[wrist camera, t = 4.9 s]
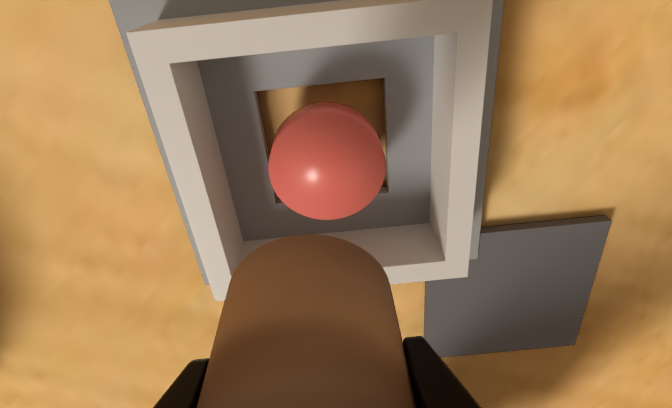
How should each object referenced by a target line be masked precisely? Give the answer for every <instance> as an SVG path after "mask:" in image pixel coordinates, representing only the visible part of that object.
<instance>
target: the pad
mask: <svg viewBox="0 0 672 408" xmlns="http://www.w3.org/2000/svg"><path fill="white" fill-rule="evenodd" d="M611 221H612V220H610V219H609V218H608V217H607V216H606V215H603V216H592V217H582V218H572V219H562V220H552V221H542V222H531V223H521V224H511V225H501V226H491V227H481V229H480V238H479V248H478V257H477V259H470V260H469V267H468V277H462V278H452V279H442V280H431V281H425V311H424V338H425V339H426V340H427V342H428V343H429V344H430V345H431V347H432V348H433V349H434V350H435V352H436V353H437V354H438V355H439V357H440V358H441V357H452V356H463V355H473V354H484V353H495V352H505V351H516V350H527V349H538V348H548V347H559V346H570V345H575V342H576V339H577V335H578V332H579V329H580V325H581V322H582V319H583V315H584V312H585V309H586V305H587V302H588V299H589V295H590V292H591V288H592V285H593V282H594V278H595V275H596V272H597V268H598V265H599V262H600V258H601V255H602V252H603V248H604V245H605V242H606V238H607V235H608V231H609V228H610V225H611Z"/></svg>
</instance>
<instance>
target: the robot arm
mask: <svg viewBox="0 0 672 408" xmlns="http://www.w3.org/2000/svg"><path fill="white" fill-rule="evenodd" d="M403 346H404V351H405V355H406V360H407V364H408V369H409V373H410V378H411V382H412V387H413V392H414V396H415V401H416V405H417V408H481V407H480V406H479V405H478V403H477V402H476V401H475V400H474V398H473V397H472V396H471V395H470V393H469V392H468V391H467V390H466V389H465V387H464V386H463V385H462V384H461V382H460V381H459V380H458V379H457V377H456V376H455V375H454V374H453V373H452V371H451V370H450V369H449V368H448V366H447V365H446V364H445V363H444V361H443V360H442V359H441V358H440V357H439V355H438V354H437V353H436V352H435V350H434V349H433V348H432V347H431V345H430V344H429V343H428V342H427V340H426V339H425V338H424V337H422V336H415V337H406V338H404V340H403ZM208 363H209V358H206V359H197V360H193V361H191V362H190V363H189V364H188V365H187V366H186V367H185V369H184V370H183V371H182V372H181V374H180V375H179V376H178V377H177V379H176V380H175V381H174V382H173V384H172V385H171V386H170V387H169V389H168V390H167V391H166V392H165V394H164V395H163V396H162V397H161V398H160V400H159V401H158V402H157V403H156V405H155V406H154V407H153V408H197V405H198V401H199V397H200V393H201V389H202V386H203V382H204V378H205V374H206V370H207V367H208Z"/></svg>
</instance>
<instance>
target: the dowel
mask: <svg viewBox="0 0 672 408" xmlns="http://www.w3.org/2000/svg"><path fill="white" fill-rule="evenodd" d="M197 408H417V405H416V401H415V396H414V392H413V387H412V382H411V378H410V373H409V369H408V364H407V360H406V355H405V351H404V346H403V342H402V337H401V332H400V328H399V323H398V319H397V314H396V310H395V305H394V301H393V296H392V292H391V287H390V283H389V280H388V277H387V275H386V273H385V271H384V269H383V267H382V266H381V265H380V263H379V262H378V261H377V260H376V259H375V258H374V257H373V256H372V255H371V254H370V253H368V252H367V251H365V250H364V249H363V248H361V247H359V246H357V245H355V244H354V243H351V242H349V241H346V240H344V239H340V238H336V237H333V236H326V235H317V234H303V235H293V236H287V237H283V238H280V239H276V240H274V241H271V242H269V243H266V244H264V245H262V246H261V247H259V248H257V249H255V250H254V251H253V252H251V253H250V254H249V255H247V256H246V257H245V258H244V259H243V260H242V261H241V262H240V264H239V265H238V266H237V268H236V269H235V271H234V273H233V275H232V277H231V280H230V283H229V286H228V290H227V294H226V298H225V302H224V306H223V309H222V313H221V317H220V321H219V325H218V328H217V332H216V336H215V340H214V344H213V348H212V351H211V355H210V359H209V363H208V367H207V370H206V374H205V378H204V382H203V386H202V389H201V393H200V397H199V401H198V405H197Z"/></svg>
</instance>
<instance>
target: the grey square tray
mask: <svg viewBox="0 0 672 408" xmlns="http://www.w3.org/2000/svg"><path fill="white" fill-rule="evenodd" d="M109 3H110V6H111V9H112V12H113V14H114V17H115V20H116V23H117V26H118V29H119V32H120V35H121V38H122V41H123V44H124V47H125V50H126V53H127V56H128V59H129V62H130V65H131V68H132V70H133V73H134V76H135V79H136V82H137V85H138V88H139V91H140V94H141V97H142V100H143V103H144V106H145V109H146V112H147V115H148V118H149V121H150V124H151V127H152V129H153V132H154V135H155V138H156V141H157V144H158V147H159V150H160V153H161V156H162V159H163V162H164V165H165V168H166V171H167V174H168V177H169V180H170V183H171V185H172V188H173V191H174V194H175V197H176V200H177V203H178V206H179V209H180V212H181V215H182V218H183V221H184V224H185V227H186V230H187V233H188V236H189V239H190V242H191V244H192V247H193V250H194V253H195V256H196V259H197V262H198V265H199V268H200V271H201V274H202V277H203V280H204V283H205V285H210V287H211V290H212V293H213V296H214V299H215V301H224V300H225V298H226V294H227V290H228V286H229V283H230V280H231V277H232V275H233V273H234V271H235V269H236V268H237V266H238V265H239V264H240V262H241V261H242V260H243V259H244V258H245V257H246V256H247V255H249V254H250V253H251V252H253V251H254V250H255V249H257V248H259V247H261V246H262V245H264V244H266V243H269V242H271V241H274V240H276V239H280V238H283V237H287V236H293V235H303V234H317V235H326V236H333V237H336V238H340V239H344V240H346V241H349V242H351V243H354V244H355V245H357V246H359V247H361V248H363V249H364V250H365V251H367V252H368V253H370V254H371V255H372V256H373V257H374V258H375V259H376V260H377V261H378V262H379V263H380V265H381V266H382V267H383V269H384V271H385V273H386V275H387V277H388V280H389V283H390V284H400V283H411V282H421V281H431V280H442V279H452V278H462V277H468V267H469V260H470V259H477V257H478V248H479V238H480V229H481V219H482V209H483V200H484V190H485V181H486V171H487V161H488V152H489V142H490V132H491V123H492V113H493V104H494V94H495V84H496V75H497V65H498V56H499V46H500V36H501V27H502V17H503V8H504V0H109ZM378 78H383V86H384V115H385V144H386V173H387V186H385V187H381V188H380V190H379V192H378V193H377V195H376V196H375V198H374V199H373V200H372V201H371V202H370V203H369V204H368V205H367V206H366V207H364V208H363V209H361V210H360V211H358V212H356V213H355V214H352V215H350V216H347V217H344V218H340V219H334V220H320V219H314V218H309V217H306V216H303V215H301V214H299V213H297V212H295V211H293V210H292V209H290V208H289V207H288V206H287V205H285V204H284V203H283V202H282V201H281V199H280V198H279V197H277V195H276V192H275V191H274V189H273V187H272V184H271V181H270V177H269V170H268V167H269V154H268V149H267V143H266V138H265V133H264V128H263V123H262V118H261V112H260V107H259V102H258V97H257V92H256V91H263V90H273V89H282V88H292V87H301V86H311V85H321V84H330V83H340V82H349V81H359V80H368V79H378Z"/></svg>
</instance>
